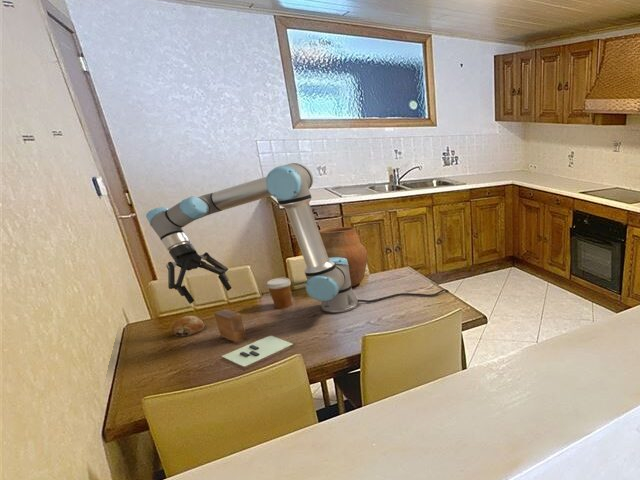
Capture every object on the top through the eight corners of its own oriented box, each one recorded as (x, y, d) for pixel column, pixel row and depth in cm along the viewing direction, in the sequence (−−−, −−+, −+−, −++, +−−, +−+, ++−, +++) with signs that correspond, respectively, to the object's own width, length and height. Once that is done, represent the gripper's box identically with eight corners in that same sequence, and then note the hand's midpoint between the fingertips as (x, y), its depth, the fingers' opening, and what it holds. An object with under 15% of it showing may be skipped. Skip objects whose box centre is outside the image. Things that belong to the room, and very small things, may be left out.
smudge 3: (253, 352, 154) (252, 350, 154) (259, 355, 153) (259, 353, 152) (249, 353, 153) (249, 352, 153) (256, 356, 152) (255, 355, 151)
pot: (365, 274, 236) (358, 220, 225) (376, 288, 217) (368, 230, 206) (317, 281, 223) (307, 226, 213) (324, 297, 205) (314, 236, 194)
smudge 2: (252, 346, 158) (252, 344, 158) (259, 348, 157) (258, 347, 156) (249, 347, 157) (248, 346, 157) (255, 350, 156) (255, 348, 155)
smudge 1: (243, 352, 154) (242, 351, 154) (249, 355, 152) (249, 354, 152) (239, 354, 153) (239, 353, 153) (246, 357, 151) (246, 355, 151)
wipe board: (271, 337, 167) (270, 335, 166) (294, 346, 161) (293, 343, 160) (221, 359, 152) (221, 356, 152) (245, 369, 146) (244, 366, 145)
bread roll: (208, 337, 174) (212, 318, 174) (181, 338, 164) (185, 317, 164) (191, 333, 177) (195, 314, 177) (164, 334, 167) (168, 313, 167)
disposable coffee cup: (284, 310, 190) (279, 285, 186) (266, 308, 192) (260, 283, 188) (299, 302, 199) (295, 278, 195) (282, 300, 201) (277, 276, 196)
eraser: (232, 334, 169) (225, 308, 165) (246, 340, 165) (240, 314, 161) (221, 338, 166) (214, 312, 162) (236, 344, 162) (229, 318, 158)
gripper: (210, 242, 174) (239, 287, 176) (137, 260, 153) (171, 311, 155) (217, 234, 170) (247, 281, 172) (143, 252, 149) (178, 304, 151)
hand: (211, 295), depth 163 cm, fingers open, 13 cm apart
